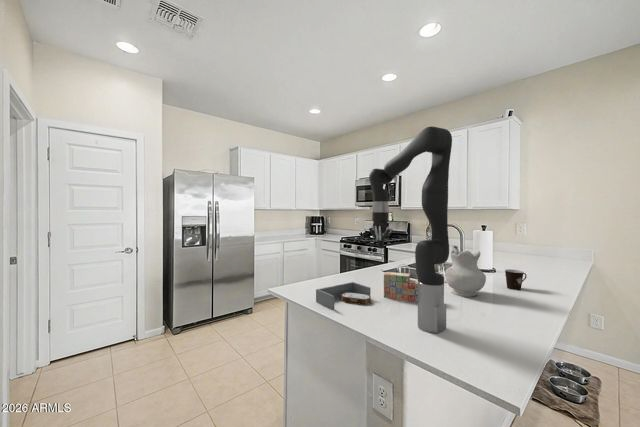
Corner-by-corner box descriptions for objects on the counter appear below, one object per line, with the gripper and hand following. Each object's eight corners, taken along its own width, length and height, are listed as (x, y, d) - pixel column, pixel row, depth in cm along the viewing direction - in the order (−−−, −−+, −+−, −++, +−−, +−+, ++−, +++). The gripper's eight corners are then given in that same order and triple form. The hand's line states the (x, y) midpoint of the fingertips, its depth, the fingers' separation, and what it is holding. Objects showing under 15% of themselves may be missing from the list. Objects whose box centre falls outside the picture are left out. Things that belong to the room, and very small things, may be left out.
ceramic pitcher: (434, 290, 154) (432, 247, 153) (462, 285, 160) (459, 243, 158) (465, 303, 133) (463, 253, 132) (495, 296, 139) (493, 248, 138)
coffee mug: (508, 290, 151) (508, 272, 151) (502, 285, 160) (502, 269, 159) (532, 291, 148) (532, 273, 148) (525, 287, 156) (525, 270, 156)
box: (370, 299, 135) (370, 287, 135) (332, 309, 121) (332, 296, 121) (352, 293, 145) (352, 281, 145) (316, 301, 131) (316, 289, 131)
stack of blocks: (429, 299, 135) (429, 275, 135) (428, 303, 129) (428, 278, 129) (385, 294, 144) (385, 271, 144) (383, 297, 138) (383, 273, 138)
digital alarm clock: (369, 305, 126) (372, 301, 134) (369, 298, 126) (372, 294, 134) (338, 301, 132) (343, 297, 139) (338, 295, 132) (343, 291, 140)
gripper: (397, 211, 124) (397, 249, 124) (375, 211, 135) (375, 246, 135) (386, 211, 119) (386, 250, 120) (364, 211, 130) (364, 247, 130)
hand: (380, 248), depth 127 cm, fingers closed
